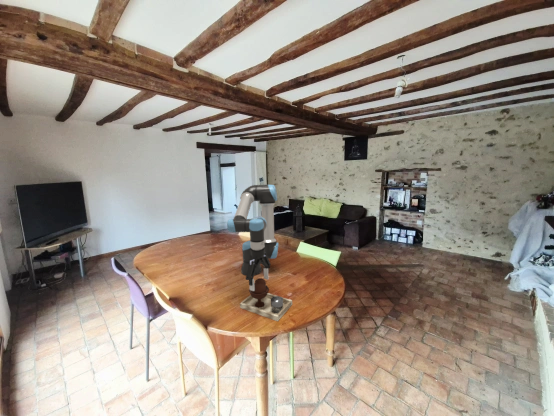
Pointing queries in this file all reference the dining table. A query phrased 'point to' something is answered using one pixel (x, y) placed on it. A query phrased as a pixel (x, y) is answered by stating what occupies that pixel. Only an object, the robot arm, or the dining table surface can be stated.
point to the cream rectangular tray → (265, 306)
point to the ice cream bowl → (259, 291)
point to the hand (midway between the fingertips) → (259, 284)
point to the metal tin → (276, 304)
